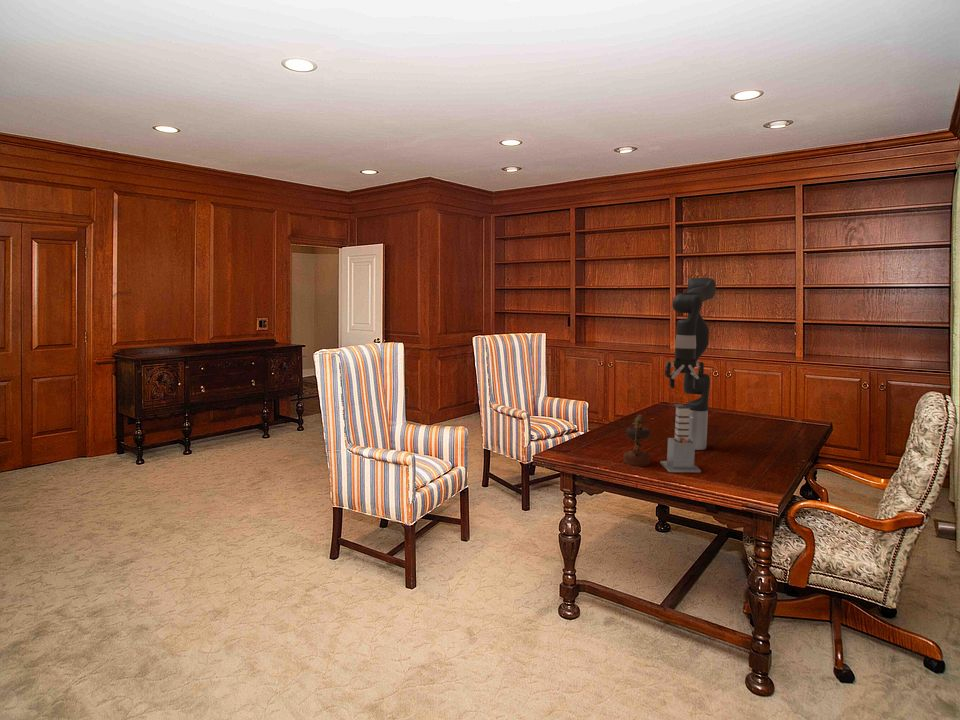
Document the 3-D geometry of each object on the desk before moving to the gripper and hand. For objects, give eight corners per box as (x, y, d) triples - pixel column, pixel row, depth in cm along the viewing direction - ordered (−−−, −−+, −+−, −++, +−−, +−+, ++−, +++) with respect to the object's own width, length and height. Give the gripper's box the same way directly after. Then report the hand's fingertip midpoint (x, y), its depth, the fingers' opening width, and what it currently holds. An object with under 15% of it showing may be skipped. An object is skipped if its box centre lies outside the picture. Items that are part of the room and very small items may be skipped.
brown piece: (652, 467, 233) (650, 417, 231) (624, 468, 235) (621, 418, 233) (650, 457, 248) (647, 410, 246) (623, 458, 250) (620, 411, 248)
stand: (660, 463, 239) (661, 433, 238) (690, 463, 239) (691, 434, 238) (669, 472, 227) (670, 441, 226) (700, 472, 227) (702, 441, 226)
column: (672, 450, 235) (674, 404, 233) (685, 450, 235) (687, 404, 233) (676, 454, 230) (678, 406, 228) (689, 454, 230) (691, 406, 228)
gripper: (700, 346, 232) (698, 387, 233) (664, 345, 232) (662, 386, 234) (707, 347, 224) (705, 390, 226) (669, 347, 224) (668, 389, 226)
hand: (683, 388), depth 230 cm, fingers open, 8 cm apart
